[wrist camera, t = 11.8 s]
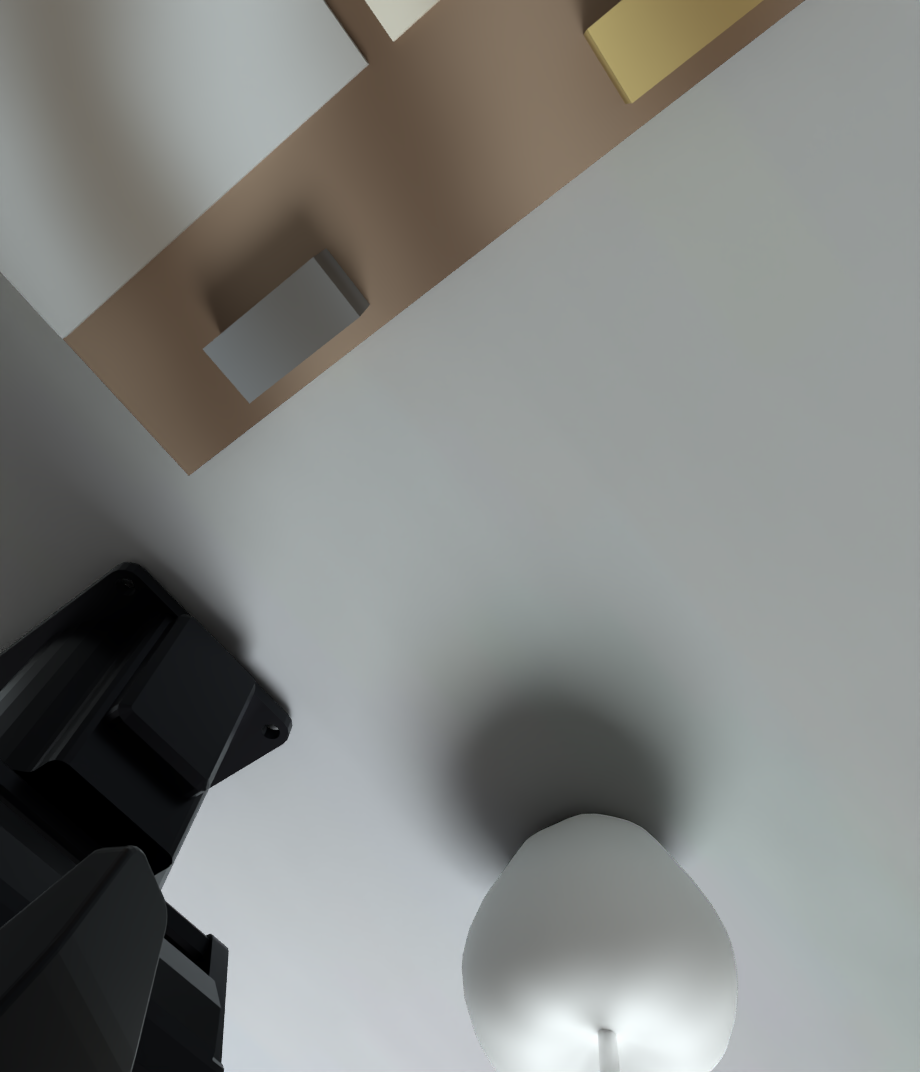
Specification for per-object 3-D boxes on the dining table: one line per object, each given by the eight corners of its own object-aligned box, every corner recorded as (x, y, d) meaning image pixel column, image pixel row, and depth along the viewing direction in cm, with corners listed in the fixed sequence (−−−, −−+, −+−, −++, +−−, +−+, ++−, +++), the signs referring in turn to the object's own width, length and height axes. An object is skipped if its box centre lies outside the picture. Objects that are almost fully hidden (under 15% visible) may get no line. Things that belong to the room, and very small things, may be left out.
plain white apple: (745, 798, 24) (834, 1085, 17) (664, 964, 28) (712, 1264, 20) (502, 744, 24) (490, 1011, 17) (449, 918, 27) (419, 1204, 20)
